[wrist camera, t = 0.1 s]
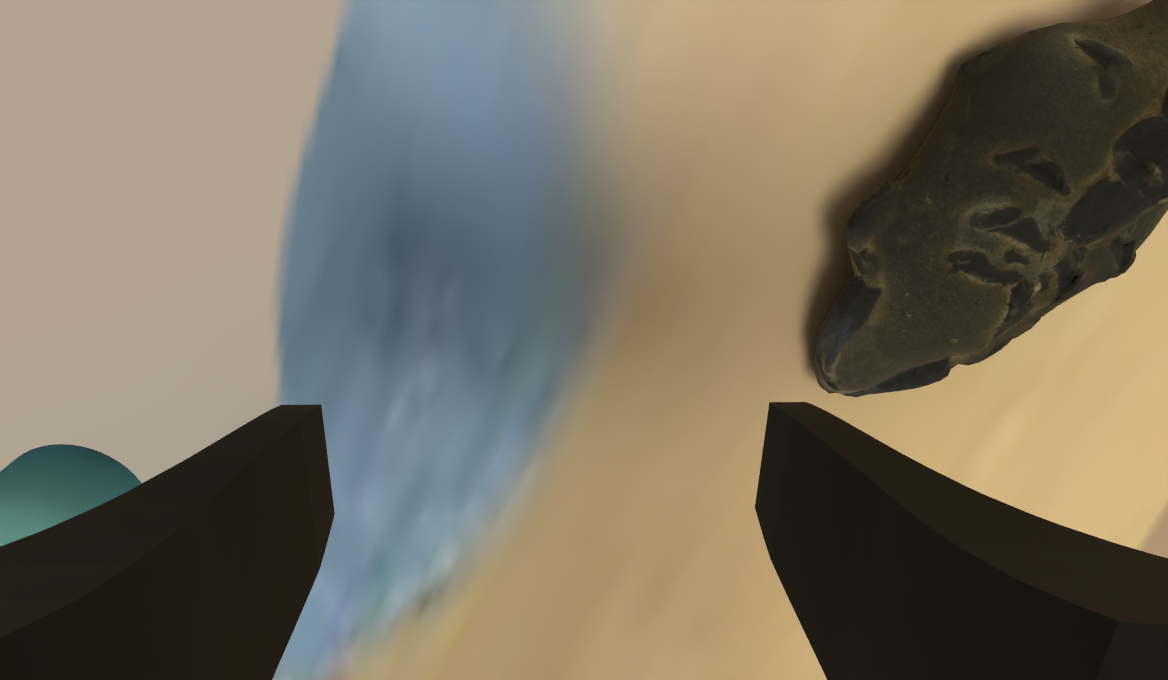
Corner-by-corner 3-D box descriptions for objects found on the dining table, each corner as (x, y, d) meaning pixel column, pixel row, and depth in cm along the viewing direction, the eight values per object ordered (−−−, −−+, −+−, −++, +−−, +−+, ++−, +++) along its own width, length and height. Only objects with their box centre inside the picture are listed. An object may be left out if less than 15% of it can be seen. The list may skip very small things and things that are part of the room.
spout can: (165, 562, 24) (49, 729, 18) (21, 565, 24) (-143, 736, 18) (137, 443, 22) (-2, 586, 17) (-18, 445, 22) (-214, 591, 16)
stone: (725, 302, 22) (776, 380, 17) (1080, -91, 19) (1272, -133, 14) (876, 420, 24) (960, 520, 19) (1224, 85, 20) (1438, 104, 16)
